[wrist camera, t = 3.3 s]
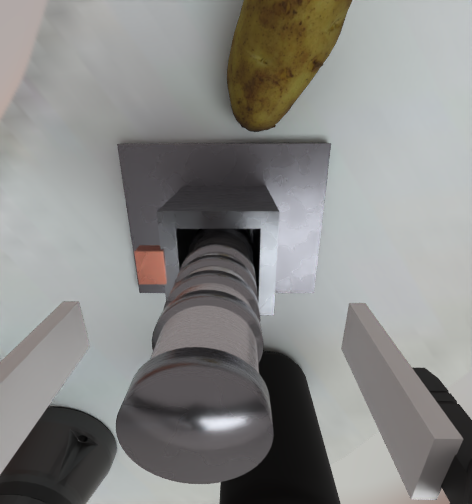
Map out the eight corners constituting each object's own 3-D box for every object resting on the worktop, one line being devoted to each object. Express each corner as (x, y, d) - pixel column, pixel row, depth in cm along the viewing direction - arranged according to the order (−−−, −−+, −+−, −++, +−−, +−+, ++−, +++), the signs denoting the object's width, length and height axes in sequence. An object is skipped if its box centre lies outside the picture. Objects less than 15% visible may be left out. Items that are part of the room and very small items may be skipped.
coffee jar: (224, 347, 37) (213, 520, 21) (307, 346, 37) (362, 519, 20) (227, 406, 41) (219, 591, 25) (302, 406, 41) (344, 591, 25)
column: (202, 249, 31) (128, 483, 10) (199, 202, 29) (102, 375, 8) (249, 249, 31) (270, 484, 10) (249, 202, 29) (277, 376, 8)
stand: (142, 288, 34) (100, 356, 24) (121, 143, 28) (52, 150, 18) (311, 288, 34) (344, 356, 24) (328, 143, 28) (381, 148, 17)
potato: (190, 76, 26) (171, 53, 18) (295, -68, 22) (324, -168, 15) (257, 143, 28) (264, 146, 20) (363, 21, 24) (419, -28, 17)
